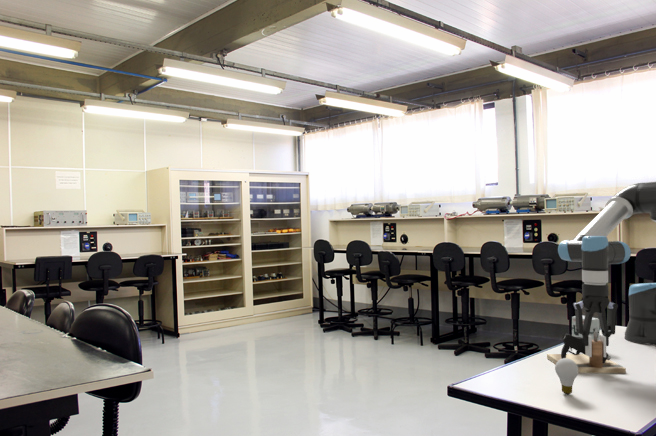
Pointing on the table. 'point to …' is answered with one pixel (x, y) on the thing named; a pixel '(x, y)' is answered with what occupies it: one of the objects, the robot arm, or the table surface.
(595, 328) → the ink box
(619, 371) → the board
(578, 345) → the gun
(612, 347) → the table surface
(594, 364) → the awl
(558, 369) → the light bulb
